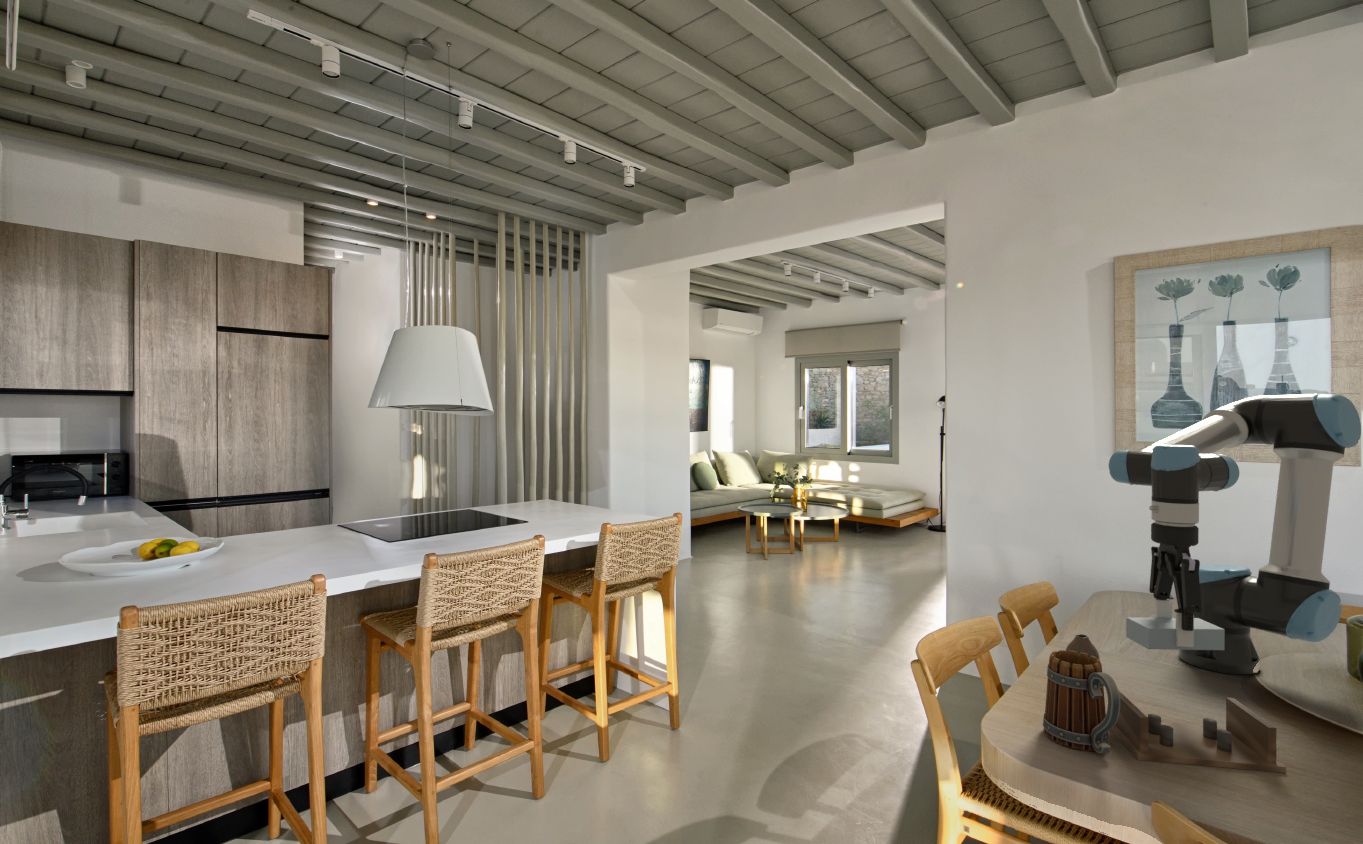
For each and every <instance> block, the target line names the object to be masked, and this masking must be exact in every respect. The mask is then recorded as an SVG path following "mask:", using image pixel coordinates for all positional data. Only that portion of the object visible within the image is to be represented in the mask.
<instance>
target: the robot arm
mask: <svg viewBox="0 0 1363 844" xmlns="http://www.w3.org/2000/svg"><path fill="white" fill-rule="evenodd" d="M1359 415H1360V414H1359V412H1358V409H1357V408H1356V406H1355V405H1354V403H1353V402H1352V400H1351V399H1349V398H1348V397H1346V396H1344V395H1343V394H1334V393H1318V392H1317V393H1303V394H1302V393H1301V394H1300V393H1299V394H1296V393H1295V394H1276V395H1275V394H1274V395H1273V394H1272V395H1271V394H1267V395H1266V394H1265V395H1264V394H1262V395H1256V396H1252V397H1251V396H1250V397H1247V398H1246V397H1245V398H1243V399H1240V400H1238V401H1237V400H1236V401H1233V402H1230V403H1228V404H1225V405H1222V406H1220V407H1218V408H1215V409H1213V410H1211V411H1209V412H1208V413H1206V414H1205V415H1204V416H1203V418H1202V420H1201V421H1198V422H1196V423H1193V424H1191V425H1189V426H1187V427H1185V428H1184V429H1183V428H1182V429H1180V430H1178V431H1177V432H1174V433H1172V434H1170V435H1167V436H1165V437H1163V438H1161V439H1159V440H1156V441H1155V442H1153V443H1151V444H1148V445H1146V446H1144V447H1142V448H1139V449H1135V450H1132V449H1121V450H1117V451H1115V452H1113V454H1112V455H1111V456H1110V458H1109V461H1108V469H1109V474H1110V477H1111V479H1113V480H1114V481H1115V482H1117V483H1121V484H1128V485H1131V486H1133V485H1135V486H1146V487H1147V486H1149V487H1151V505H1150V506H1149V507H1148V508H1149V511H1151V520H1153V521H1154V522H1152V523H1151V525H1150V539H1151V541H1153V542H1154V543H1156V544H1159V546H1154V545H1152V546H1151V547H1150V549H1151V550H1150V552H1151V564H1150V566H1151V567H1150V577H1149V578H1150V579H1149V590H1148V591H1149V593H1150V594H1152V595H1153V598H1154V599H1155V600H1154V605H1155V606H1154V607H1155V609H1154V612H1155V613H1154V615H1155V617H1154V618H1173V600H1174V597H1173V596H1172V589H1173V588H1174V593H1175V598H1176V603H1177V608H1176V609H1174V612H1175V618H1176V646H1182V647H1194V618H1199V619H1202V620H1204V621H1206V622H1209V623H1211V624H1213V625H1216V626H1218V627H1220V628H1223V629H1225V636H1224V650H1178V657H1179V658H1180V659H1181V660H1182V661H1183V662H1185V663H1187V664H1190V665H1193V666H1195V667H1198V668H1201V669H1205V670H1208V671H1213V672H1217V673H1225V674H1231V675H1254V674H1253V669H1254V667H1255V666H1256V664H1257V663H1258V662H1259V661H1260V662H1261V660H1260V656H1259V654H1258V652H1257V649H1256V647H1255V644H1254V641H1253V638H1252V636H1251V629H1254V630H1259V631H1262V632H1267V633H1271V634H1274V635H1278V636H1283V637H1286V638H1289V639H1292V640H1293V639H1294V640H1300V641H1305V642H1310V643H1318V642H1322V641H1324V640H1326V639H1328V638H1329V636H1331V634H1333V632H1335V630H1336V628H1337V626H1338V624H1339V622H1340V620H1341V619H1340V618H1341V614H1342V611H1343V610H1342V609H1343V607H1342V605H1343V604H1342V603H1341V602H1342V601H1341V597H1340V595H1339V594H1338V593H1337V592H1335V591H1334V590H1332V589H1330V586H1331V585H1330V584H1331V581H1330V580H1329V579H1328V578H1327V577H1326V576H1325V575H1324V574H1323V572H1322V569H1323V559H1324V551H1325V543H1326V534H1327V533H1326V531H1327V524H1328V517H1329V516H1328V515H1329V507H1330V498H1331V497H1330V496H1331V489H1332V479H1333V470H1334V464H1335V463H1337V462H1339V461H1340V460H1341V459H1343V458H1344V457H1345V451H1346V450H1345V449H1350V448H1354V447H1355V446H1356V445H1358V443H1359V440H1360V439H1361V435H1362V424H1361V418H1360V416H1359ZM1241 445H1273V449H1272V452H1273V453H1274V454H1276V455H1277V457H1279V459H1280V465H1279V471H1278V472H1279V473H1278V481H1277V489H1276V499H1275V506H1274V507H1275V508H1274V515H1273V516H1274V517H1273V522H1272V523H1273V524H1272V533H1271V541H1270V550H1269V558H1268V563H1267V564H1266V565H1264V566H1262V567H1260V568H1259V569H1258V576H1253V575H1252V573H1253V572H1252V571H1251V569H1250V568H1249V567H1246V566H1241V565H1229V564H1228V565H1225V564H1215V565H1214V564H1209V565H1201V562H1200V560H1199V559H1195V558H1194V559H1193V558H1191V557H1192V556H1191V552H1190V547H1194V546H1197V545H1198V544H1199V531H1200V530H1199V527H1198V526H1197V524H1199V523H1200V503H1199V501H1200V500H1199V499H1200V497H1199V495H1200V494H1199V493H1200V492H1211V491H1212V492H1219V491H1223V490H1227V489H1230V488H1231V487H1233V486H1234V485H1235V484H1236V483H1237V482H1238V480H1239V477H1240V468H1239V465H1238V464H1237V462H1236V461H1235V459H1233V458H1232V457H1230V456H1228V455H1225V454H1222V453H1216V452H1218V451H1220V450H1223V449H1232V448H1236V447H1239V446H1241ZM1173 586H1174V587H1173Z"/></svg>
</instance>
